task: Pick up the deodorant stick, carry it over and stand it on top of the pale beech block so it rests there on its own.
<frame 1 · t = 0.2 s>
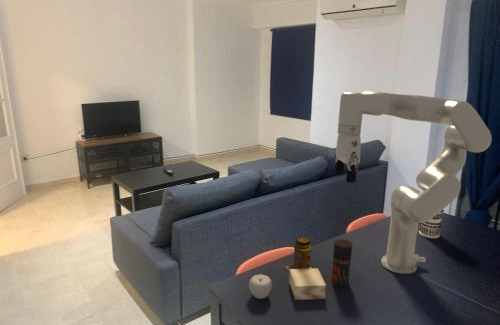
hand: (344, 177, 124), 36 cm above the table, tool pointing down, fingers open, 9 cm apart
deodorant: (339, 282, 125), on the table
block: (306, 289, 120), on the table
condiment: (299, 269, 133), on the table
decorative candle: (428, 234, 162), on the table
apple: (260, 296, 117), on the table
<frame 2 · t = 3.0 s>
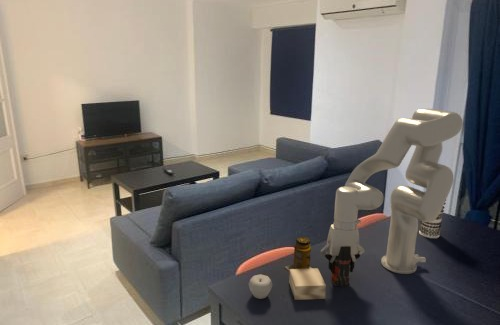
hand: (340, 270, 124), 5 cm above the table, tool pointing down, fingers closed on deodorant, 5 cm apart
deodorant: (339, 282, 125), on the table, touching gripper
everything else where it was.
when the fingers open (10 cm above the table, at t = 7.6 s): deodorant stays where it is, resting on block.
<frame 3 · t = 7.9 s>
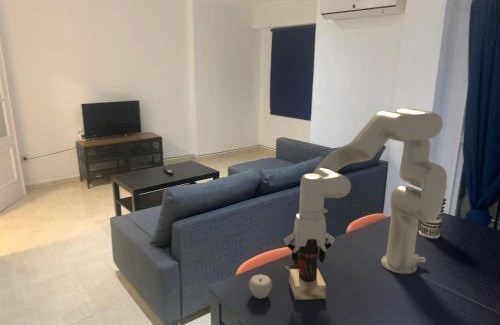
hand: (308, 261, 117), 11 cm above the table, tool pointing down, fingers open, 8 cm apart
deodorant: (307, 277, 119), point 5 cm above the table, touching block
everything else where it was.
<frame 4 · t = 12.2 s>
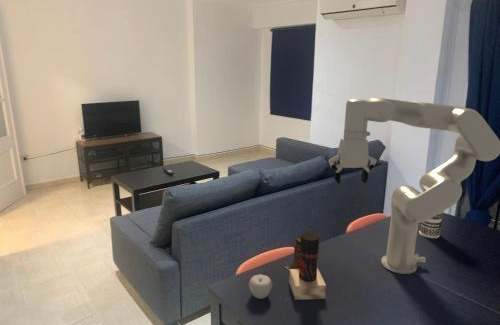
hand: (350, 182, 127), 33 cm above the table, tool pointing down, fingers open, 9 cm apart
nothing on the table moved.
at the end: deodorant touching block; deodorant tilted 0° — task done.
